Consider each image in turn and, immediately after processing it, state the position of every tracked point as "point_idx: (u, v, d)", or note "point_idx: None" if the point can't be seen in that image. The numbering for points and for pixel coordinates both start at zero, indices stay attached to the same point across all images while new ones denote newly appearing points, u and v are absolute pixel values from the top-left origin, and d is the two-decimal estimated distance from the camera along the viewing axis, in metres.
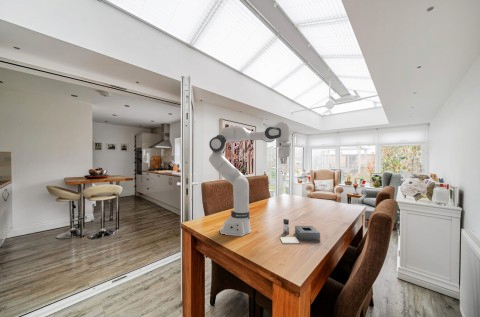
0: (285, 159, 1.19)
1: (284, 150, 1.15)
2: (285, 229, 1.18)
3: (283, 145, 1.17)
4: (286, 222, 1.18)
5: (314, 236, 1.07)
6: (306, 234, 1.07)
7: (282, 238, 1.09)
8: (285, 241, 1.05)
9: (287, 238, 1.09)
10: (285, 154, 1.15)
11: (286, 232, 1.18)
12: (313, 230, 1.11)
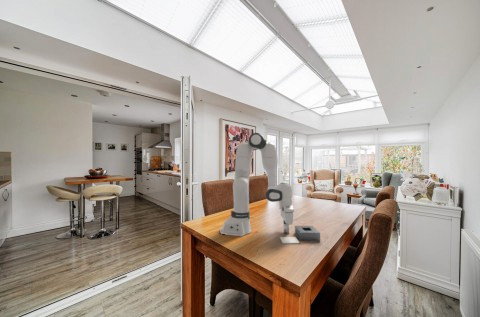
0: None
1: (287, 218, 1.10)
2: (285, 229, 1.18)
3: (286, 212, 1.11)
4: None
5: (314, 236, 1.07)
6: (306, 234, 1.07)
7: (282, 238, 1.09)
8: (285, 241, 1.05)
9: (287, 238, 1.09)
10: (288, 222, 1.10)
11: (286, 232, 1.18)
12: (313, 230, 1.11)
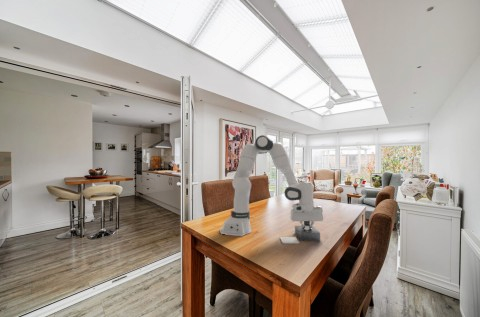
0: None
1: (291, 213, 1.15)
2: None
3: (292, 207, 1.15)
4: (304, 223, 1.13)
5: (314, 236, 1.07)
6: (306, 234, 1.07)
7: (282, 238, 1.09)
8: (285, 241, 1.05)
9: (287, 238, 1.09)
10: None
11: None
12: (313, 230, 1.11)
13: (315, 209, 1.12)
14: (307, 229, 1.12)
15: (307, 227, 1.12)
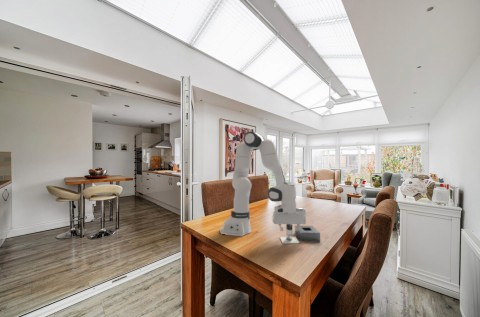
0: (279, 225, 1.08)
1: None
2: (286, 234, 1.08)
3: (274, 209, 1.10)
4: (286, 227, 1.07)
5: (314, 236, 1.07)
6: (306, 234, 1.07)
7: (282, 238, 1.09)
8: (285, 241, 1.05)
9: None
10: (272, 220, 1.09)
11: (286, 237, 1.07)
12: (313, 230, 1.11)
13: (298, 211, 1.07)
14: (289, 233, 1.06)
15: (289, 231, 1.06)
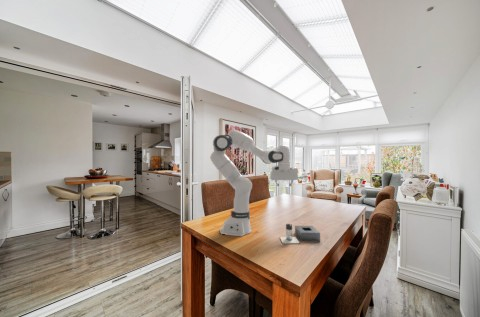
0: None
1: (270, 174, 1.31)
2: (286, 234, 1.08)
3: (272, 169, 1.32)
4: (286, 227, 1.08)
5: (314, 236, 1.07)
6: (306, 234, 1.07)
7: (282, 238, 1.09)
8: (285, 241, 1.05)
9: None
10: (270, 177, 1.31)
11: (286, 237, 1.08)
12: (313, 230, 1.11)
13: (291, 169, 1.28)
14: (289, 233, 1.06)
15: (289, 231, 1.06)
